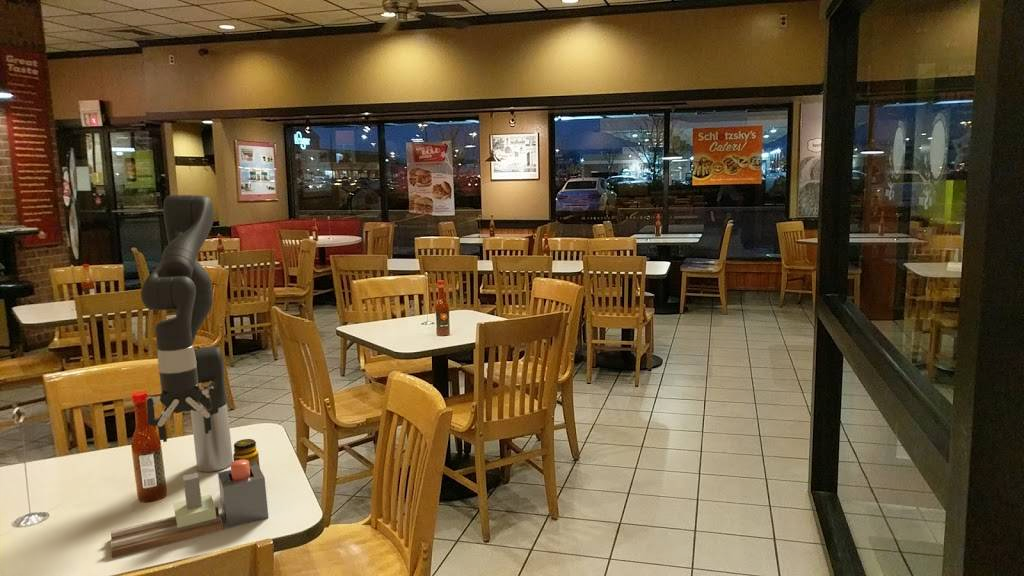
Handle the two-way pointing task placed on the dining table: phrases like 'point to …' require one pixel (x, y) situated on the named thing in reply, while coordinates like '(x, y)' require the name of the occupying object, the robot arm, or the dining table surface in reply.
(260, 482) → the cabinet
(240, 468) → the plunger
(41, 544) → the dining table surface
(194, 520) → the carriage
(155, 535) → the rail track
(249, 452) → the condiment
